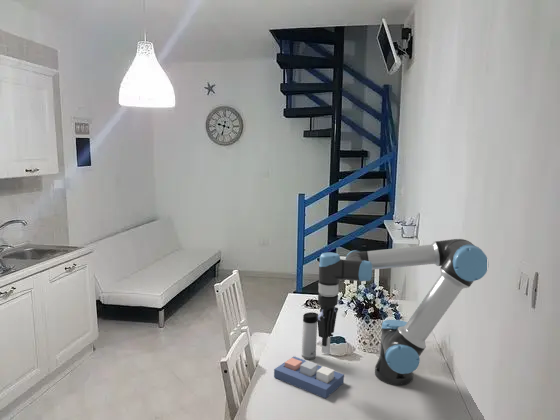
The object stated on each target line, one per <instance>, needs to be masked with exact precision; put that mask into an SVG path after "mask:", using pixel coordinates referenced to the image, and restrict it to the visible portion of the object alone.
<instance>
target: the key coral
mask: <svg viewBox="0 0 560 420" xmlns="http://www.w3.org/2000/svg"><path fill="white" fill-rule="evenodd" d="M284 362H285V367H286V368H288V369H291V370H294V371H296V370H298V369H299V368H300V365H301V364H302V361H299V360H297V359H294V358H292V357H291V358H289V359H288V360H286V361H284Z"/></svg>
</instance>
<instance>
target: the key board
mask: <svg viewBox="0 0 560 420" xmlns="http://www.w3.org/2000/svg"><path fill="white" fill-rule="evenodd" d="M291 358H294V359H297V360H299V361H302V364H303V363H304V362H306V361H307V360H306V359H304V358H299V357H296V356H292V357H291ZM285 362H286V361H284V362H283V363H281V364H280V365H278V366H276V367H275V368H274V369H273V371H274V372H273V378H275V379H277V380H280V381H282V382H285V383H287V384H289V385H292V386H294V387H297V388H299V389H301V390H304V391H307V392H309V393H311V394H314V395H316V396H319V397H321V398H324V399H327V398H329V396H330V395H331V394H333V393H334V392H335V391H336V390H337V389H338V388H339V387H340V386H342V385H343V384H344V381H345V374H344V373H341V372H338V371H335V370H334V379H333V380H332V381H331V382H329V383H328V384H327V383H325V382H322V381H319V380H317V379H316V374H315V375H313V376H312V377H309V376H307V375H304V374H301V373H300V368H299V369H298V370H296V371H294V370H291V369H288V368H286V367H285ZM321 367H323V366H322V365H318V370H319V369H320V368H321Z"/></svg>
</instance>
